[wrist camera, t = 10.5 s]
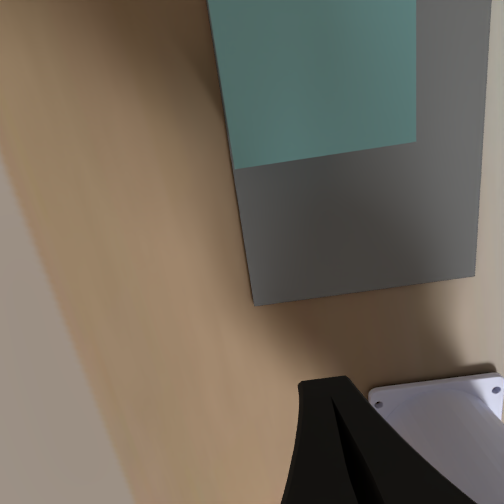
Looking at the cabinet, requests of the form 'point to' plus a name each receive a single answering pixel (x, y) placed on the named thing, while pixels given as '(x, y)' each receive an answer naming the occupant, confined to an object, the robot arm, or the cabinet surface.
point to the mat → (381, 184)
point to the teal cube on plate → (315, 76)
